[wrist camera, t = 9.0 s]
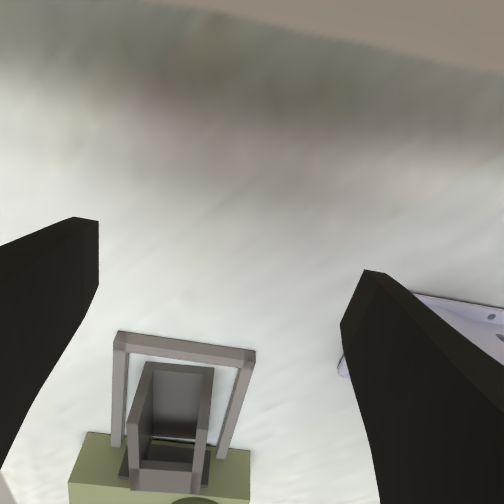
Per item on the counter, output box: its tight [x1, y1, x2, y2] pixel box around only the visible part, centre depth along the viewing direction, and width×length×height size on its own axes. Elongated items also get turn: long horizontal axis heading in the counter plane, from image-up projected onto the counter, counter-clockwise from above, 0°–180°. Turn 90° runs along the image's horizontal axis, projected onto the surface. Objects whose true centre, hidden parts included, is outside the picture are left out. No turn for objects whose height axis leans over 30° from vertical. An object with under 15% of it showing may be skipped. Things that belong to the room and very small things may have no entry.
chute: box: [126, 361, 214, 495], centre depth 27 cm, size 8×5×5 cm, turn 172°
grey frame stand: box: [68, 331, 256, 504], centre depth 28 cm, size 14×17×5 cm
